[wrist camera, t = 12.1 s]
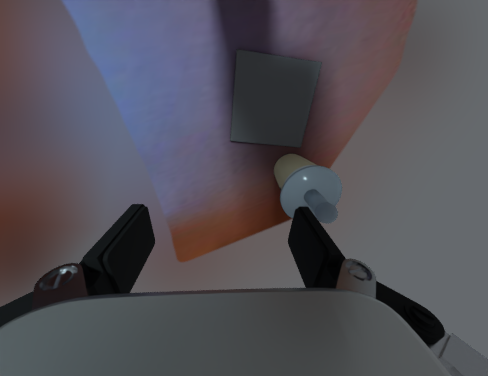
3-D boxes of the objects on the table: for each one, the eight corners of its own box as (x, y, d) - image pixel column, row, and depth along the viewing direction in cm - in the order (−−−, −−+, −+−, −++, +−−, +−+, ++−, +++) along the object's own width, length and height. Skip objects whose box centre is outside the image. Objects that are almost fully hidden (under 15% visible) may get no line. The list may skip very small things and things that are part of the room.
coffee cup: (264, 179, 43) (275, 205, 32) (281, 143, 39) (300, 159, 29) (296, 190, 45) (317, 218, 34) (315, 158, 41) (345, 177, 31)
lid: (287, 163, 29) (304, 181, 22) (348, 167, 30) (383, 187, 23) (274, 217, 33) (286, 246, 27) (328, 219, 35) (352, 248, 28)
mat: (236, 50, 31) (236, 49, 31) (320, 63, 33) (321, 62, 32) (230, 140, 38) (230, 140, 38) (299, 146, 40) (300, 147, 39)
